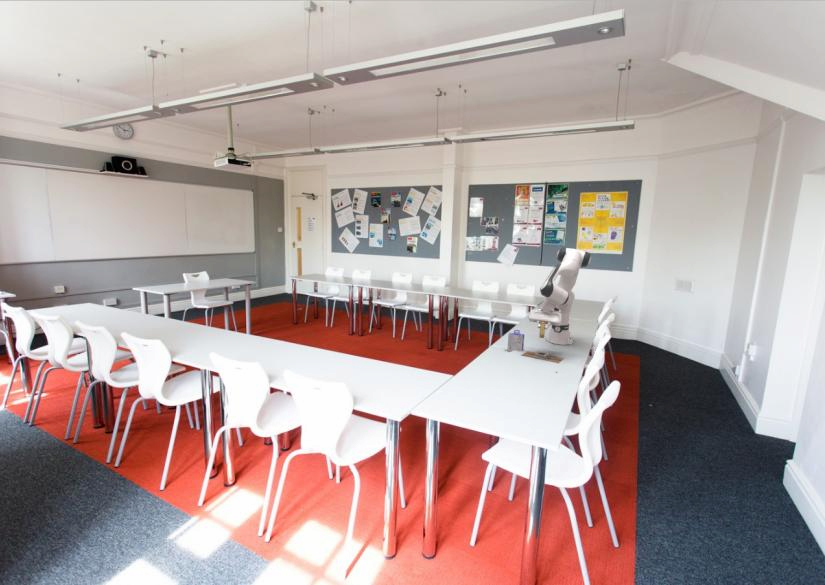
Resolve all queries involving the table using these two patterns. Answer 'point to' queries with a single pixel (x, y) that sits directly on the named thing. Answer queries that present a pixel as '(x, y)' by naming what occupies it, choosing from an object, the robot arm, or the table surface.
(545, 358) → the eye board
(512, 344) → the ink cartridge box
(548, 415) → the table surface
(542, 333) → the brass copper-topped peg
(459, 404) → the table surface
